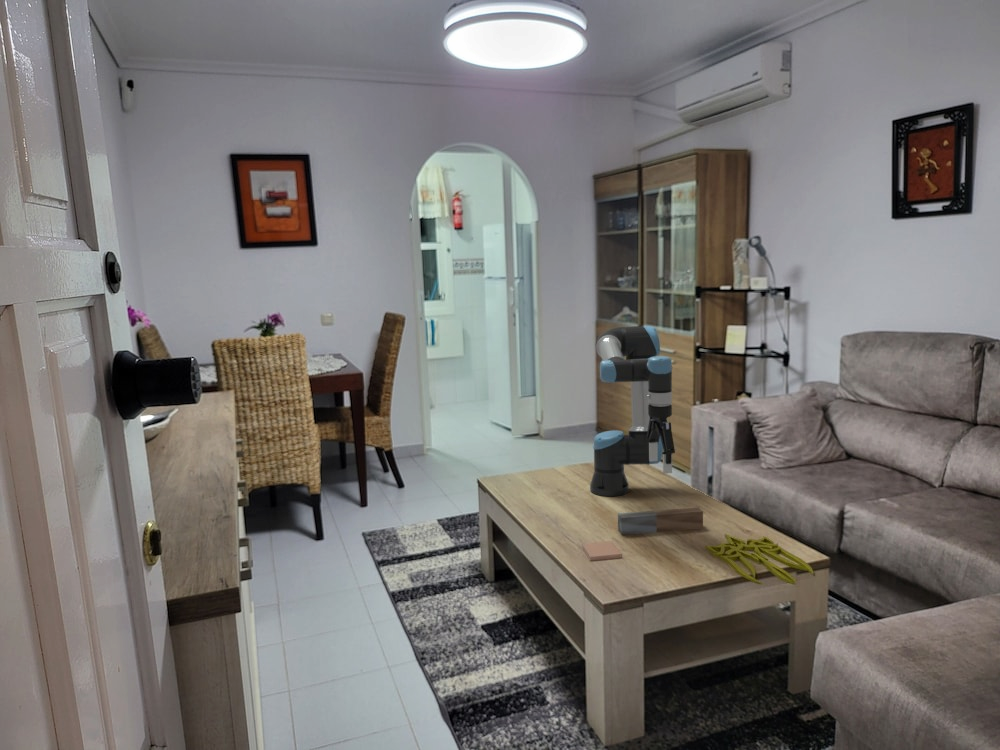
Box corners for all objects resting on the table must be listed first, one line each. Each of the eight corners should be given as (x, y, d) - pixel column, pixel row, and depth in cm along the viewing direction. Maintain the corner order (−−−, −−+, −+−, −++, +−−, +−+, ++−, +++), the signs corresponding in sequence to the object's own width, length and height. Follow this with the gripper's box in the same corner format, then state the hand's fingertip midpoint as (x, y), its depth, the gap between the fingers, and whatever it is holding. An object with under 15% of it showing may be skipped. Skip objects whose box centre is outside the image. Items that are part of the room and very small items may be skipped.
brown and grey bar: (618, 530, 227) (617, 513, 226) (698, 523, 230) (698, 507, 229) (621, 535, 223) (621, 517, 222) (702, 528, 226) (703, 511, 225)
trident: (755, 528, 221) (830, 575, 187) (755, 533, 221) (830, 580, 187) (693, 538, 216) (759, 587, 182) (693, 542, 216) (759, 593, 182)
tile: (612, 545, 216) (582, 548, 215) (612, 540, 216) (582, 543, 215) (622, 559, 206) (590, 562, 205) (622, 553, 206) (590, 556, 205)
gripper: (636, 397, 232) (637, 457, 235) (662, 412, 207) (662, 479, 211) (658, 396, 233) (658, 455, 236) (685, 411, 208) (685, 477, 211)
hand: (660, 466), depth 223 cm, fingers open, 13 cm apart
